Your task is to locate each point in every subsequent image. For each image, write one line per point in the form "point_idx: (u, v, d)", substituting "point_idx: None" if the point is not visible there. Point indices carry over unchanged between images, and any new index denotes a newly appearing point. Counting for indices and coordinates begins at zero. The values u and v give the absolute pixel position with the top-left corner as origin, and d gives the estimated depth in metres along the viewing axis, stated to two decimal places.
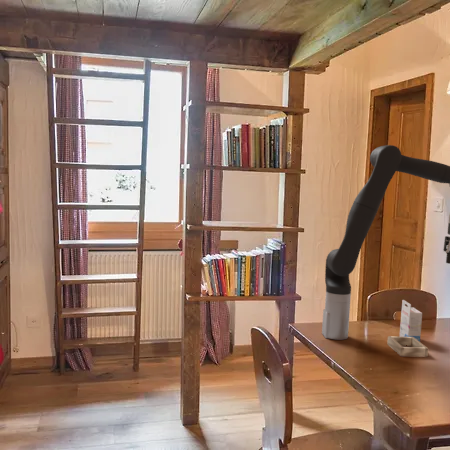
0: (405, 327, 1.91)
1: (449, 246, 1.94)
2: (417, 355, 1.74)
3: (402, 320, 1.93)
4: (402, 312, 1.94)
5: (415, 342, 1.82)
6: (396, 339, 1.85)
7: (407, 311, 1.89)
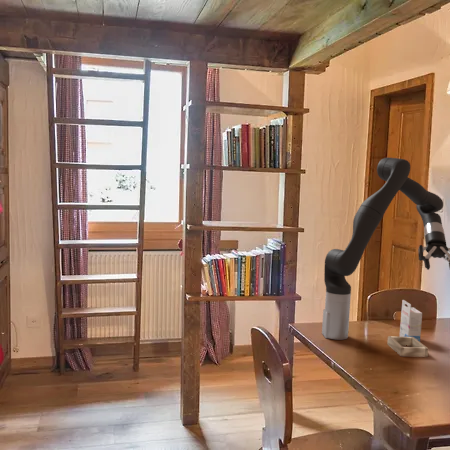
0: (405, 327, 1.91)
1: (432, 251, 1.98)
2: (417, 355, 1.74)
3: (402, 320, 1.93)
4: (402, 312, 1.94)
5: (415, 342, 1.82)
6: (396, 339, 1.85)
7: (407, 311, 1.89)
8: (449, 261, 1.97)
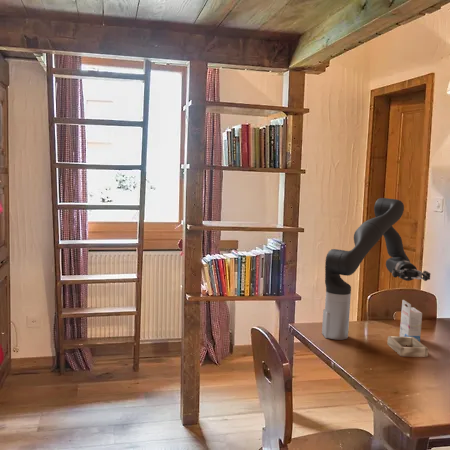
0: (405, 327, 1.91)
1: (405, 269, 2.07)
2: (417, 355, 1.74)
3: (402, 320, 1.93)
4: (402, 312, 1.94)
5: (415, 342, 1.82)
6: (396, 339, 1.85)
7: (407, 311, 1.89)
8: (422, 277, 2.04)
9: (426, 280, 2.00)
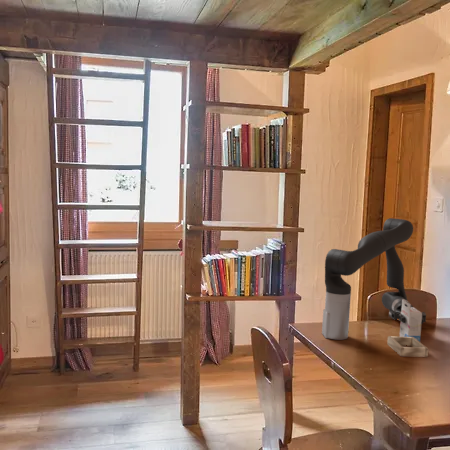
0: (405, 327, 1.91)
1: None
2: (417, 355, 1.74)
3: None
4: (402, 312, 1.94)
5: (415, 342, 1.82)
6: (396, 339, 1.85)
7: (407, 311, 1.89)
8: None
9: (421, 323, 1.89)
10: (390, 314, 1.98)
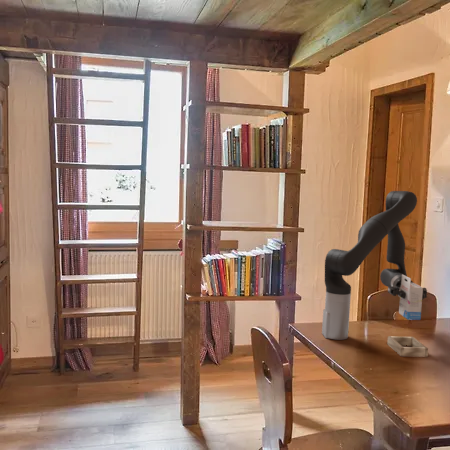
0: (404, 303, 1.79)
1: None
2: (417, 355, 1.74)
3: None
4: (402, 287, 1.82)
5: (415, 342, 1.82)
6: (396, 339, 1.85)
7: (407, 286, 1.78)
8: None
9: (422, 299, 1.77)
10: (389, 290, 1.87)
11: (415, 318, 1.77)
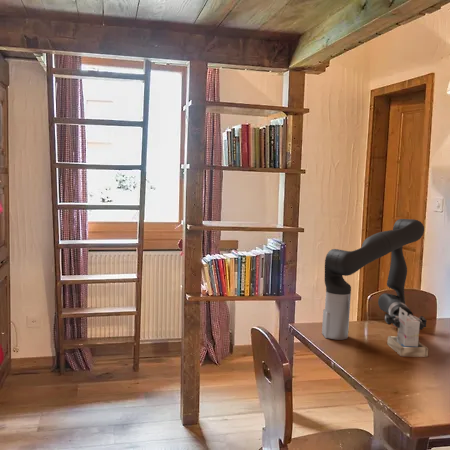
0: (401, 337, 1.79)
1: None
2: (417, 355, 1.74)
3: (399, 329, 1.81)
4: (399, 321, 1.82)
5: None
6: (396, 339, 1.85)
7: (404, 320, 1.77)
8: None
9: (421, 329, 1.76)
10: (385, 318, 1.86)
11: None
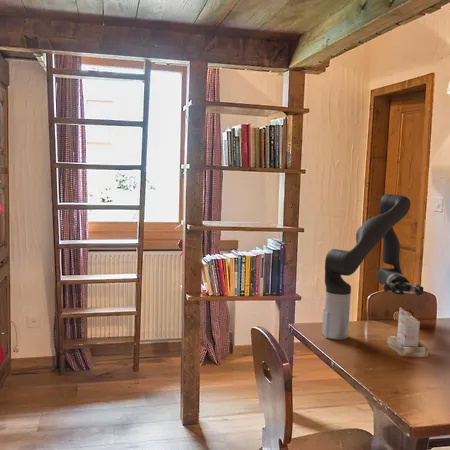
0: (401, 337, 1.79)
1: (397, 283, 1.95)
2: (417, 355, 1.74)
3: (399, 329, 1.81)
4: (399, 321, 1.82)
5: None
6: (396, 339, 1.85)
7: (404, 320, 1.77)
8: (415, 291, 1.91)
9: None
10: (383, 286, 1.97)
11: None
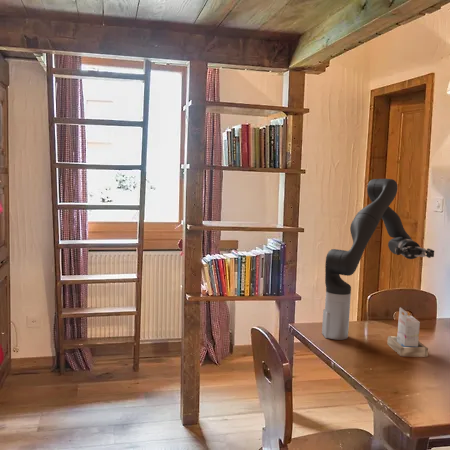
0: (401, 337, 1.79)
1: (408, 247, 2.02)
2: (417, 355, 1.74)
3: (399, 329, 1.81)
4: (399, 321, 1.82)
5: None
6: (396, 339, 1.85)
7: (404, 320, 1.77)
8: (426, 254, 1.99)
9: (430, 257, 1.95)
10: (395, 250, 2.05)
11: None
